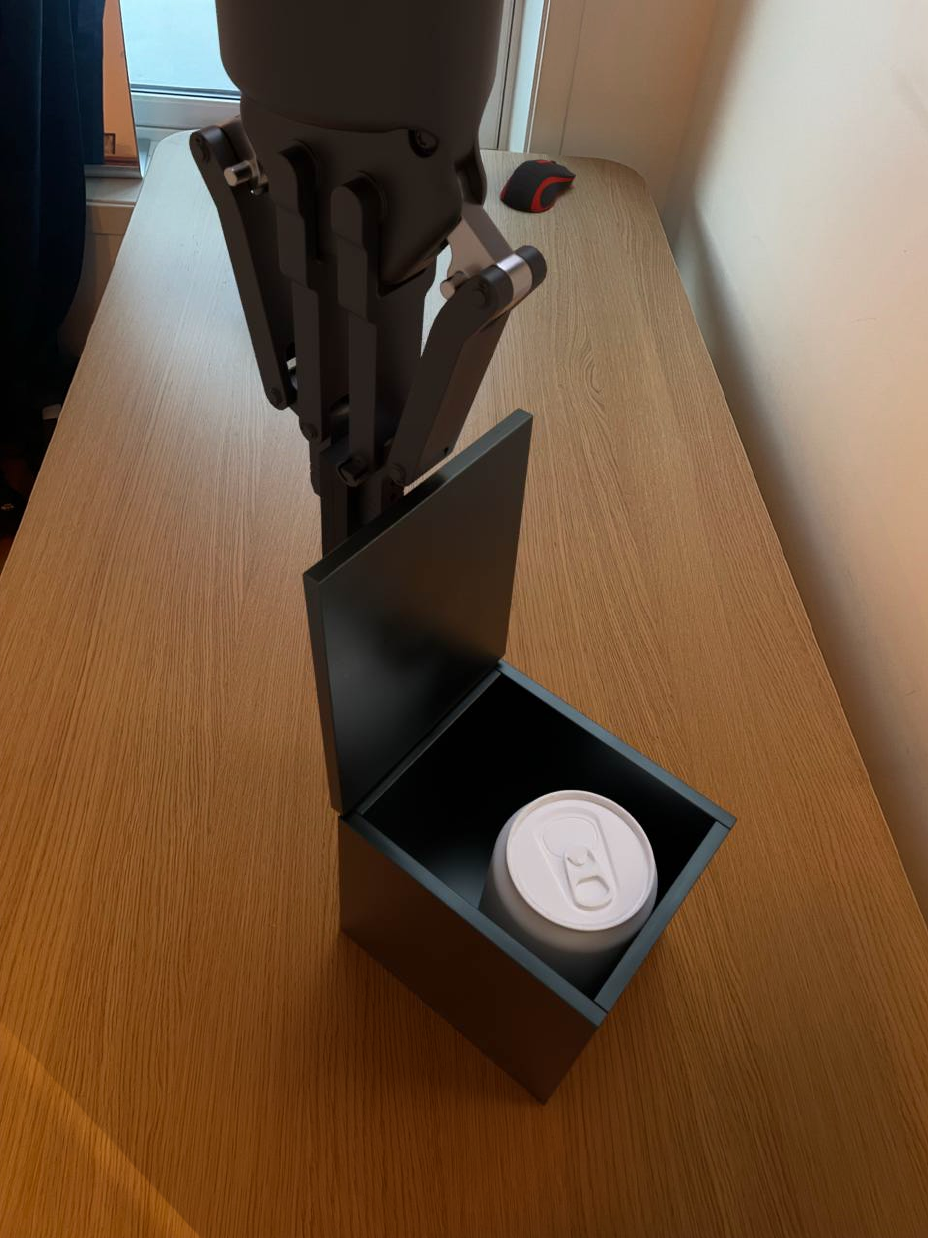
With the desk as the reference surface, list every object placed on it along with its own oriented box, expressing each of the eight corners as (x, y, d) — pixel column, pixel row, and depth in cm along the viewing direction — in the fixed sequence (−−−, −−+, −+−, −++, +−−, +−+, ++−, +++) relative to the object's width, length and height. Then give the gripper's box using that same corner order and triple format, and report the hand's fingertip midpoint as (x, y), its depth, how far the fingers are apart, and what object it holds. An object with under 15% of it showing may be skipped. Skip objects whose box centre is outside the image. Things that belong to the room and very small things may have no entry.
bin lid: (534, 414, 38) (518, 406, 39) (318, 584, 31) (300, 573, 32) (506, 654, 50) (493, 647, 50) (343, 817, 43) (330, 807, 43)
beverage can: (580, 867, 57) (625, 766, 48) (632, 999, 52) (693, 915, 43) (452, 899, 55) (474, 800, 46) (495, 1040, 50) (529, 962, 41)
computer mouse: (579, 183, 115) (586, 150, 112) (538, 217, 109) (543, 183, 106) (535, 167, 117) (540, 134, 114) (491, 199, 110) (495, 165, 107)
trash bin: (664, 926, 56) (738, 818, 45) (544, 1106, 49) (598, 1029, 38) (472, 783, 61) (498, 656, 50) (339, 929, 54) (336, 817, 43)
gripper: (662, -42, 23) (524, 588, 41) (282, -171, 27) (309, 450, 46) (476, 27, 19) (413, 693, 37) (64, -137, 23) (189, 530, 41)
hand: (356, 559), depth 41 cm, fingers closed
